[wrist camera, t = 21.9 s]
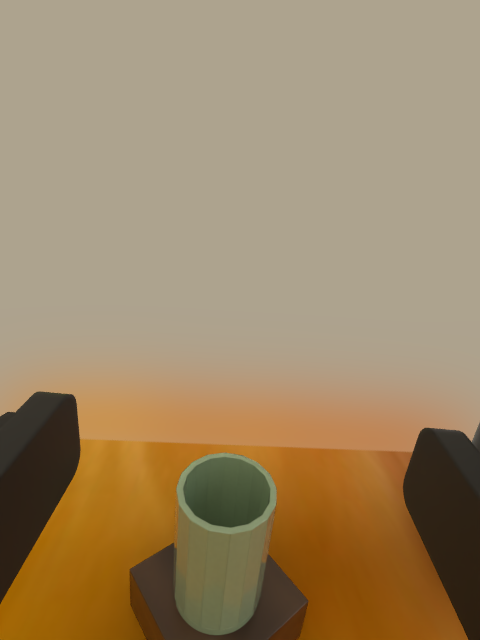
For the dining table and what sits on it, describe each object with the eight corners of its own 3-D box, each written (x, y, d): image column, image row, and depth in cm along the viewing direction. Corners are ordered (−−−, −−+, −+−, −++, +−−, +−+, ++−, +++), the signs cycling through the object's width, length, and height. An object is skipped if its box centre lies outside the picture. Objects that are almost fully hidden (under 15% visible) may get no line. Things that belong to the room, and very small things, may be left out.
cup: (225, 531, 30) (235, 441, 26) (277, 596, 26) (297, 499, 22) (157, 575, 26) (158, 477, 23) (205, 659, 22) (215, 554, 19)
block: (226, 541, 33) (229, 508, 32) (300, 636, 27) (308, 600, 25) (130, 604, 28) (129, 568, 26) (194, 742, 21) (197, 705, 20)
